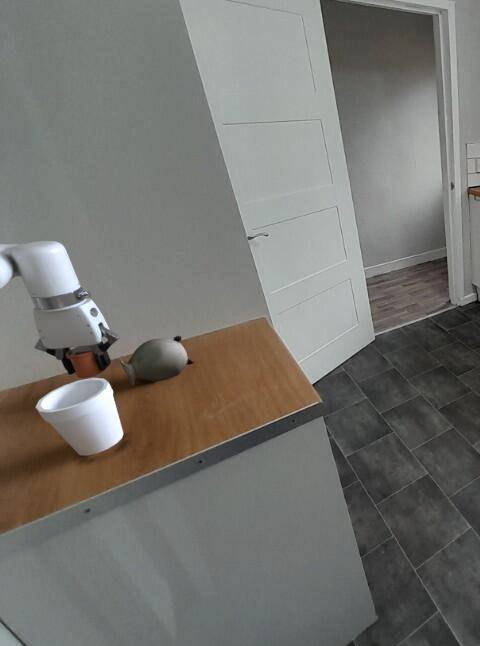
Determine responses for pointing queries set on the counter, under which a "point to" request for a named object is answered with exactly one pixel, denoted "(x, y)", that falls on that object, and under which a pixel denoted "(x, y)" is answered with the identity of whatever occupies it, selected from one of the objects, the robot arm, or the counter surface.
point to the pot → (83, 361)
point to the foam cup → (83, 415)
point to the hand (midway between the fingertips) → (90, 368)
